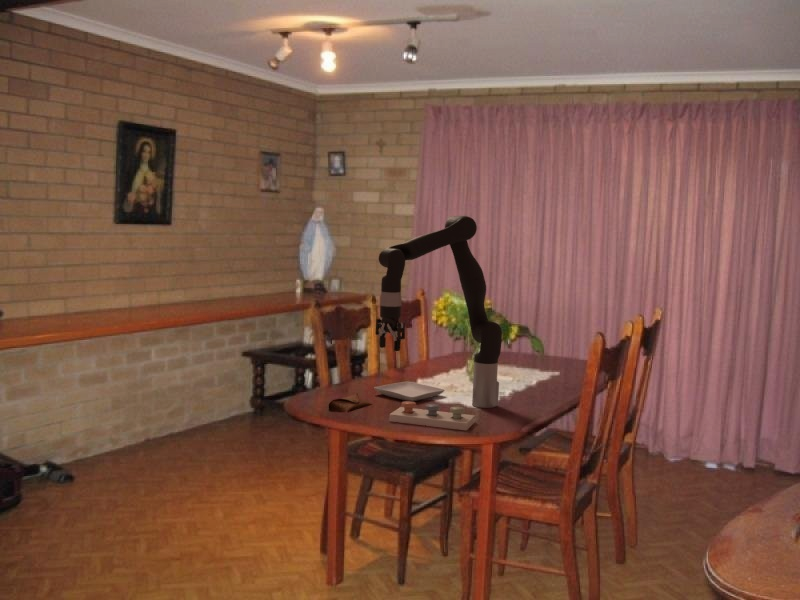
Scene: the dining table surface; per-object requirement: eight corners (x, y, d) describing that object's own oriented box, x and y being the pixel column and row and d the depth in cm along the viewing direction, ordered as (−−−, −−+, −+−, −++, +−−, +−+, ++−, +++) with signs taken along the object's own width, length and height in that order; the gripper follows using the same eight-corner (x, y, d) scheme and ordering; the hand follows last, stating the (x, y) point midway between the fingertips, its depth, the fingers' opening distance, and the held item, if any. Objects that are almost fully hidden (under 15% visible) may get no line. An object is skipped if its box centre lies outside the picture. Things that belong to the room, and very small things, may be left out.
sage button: (459, 416, 279) (460, 406, 279) (467, 420, 274) (467, 409, 274) (446, 417, 277) (447, 407, 276) (454, 421, 272) (454, 410, 272)
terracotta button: (411, 411, 285) (411, 400, 284) (418, 414, 280) (418, 404, 280) (398, 412, 283) (399, 401, 282) (405, 415, 278) (405, 405, 278)
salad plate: (445, 396, 320) (446, 388, 320) (411, 405, 304) (412, 396, 304) (407, 388, 334) (407, 380, 334) (372, 395, 318) (372, 387, 318)
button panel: (474, 422, 280) (474, 415, 280) (466, 430, 269) (466, 423, 268) (400, 413, 289) (400, 406, 289) (389, 421, 278) (389, 414, 277)
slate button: (435, 413, 282) (435, 403, 282) (442, 417, 277) (442, 406, 277) (422, 415, 280) (422, 404, 279) (429, 418, 275) (429, 407, 275)
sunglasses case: (346, 412, 287) (339, 396, 288) (333, 419, 291) (326, 403, 292) (373, 404, 302) (366, 388, 304) (360, 410, 306) (353, 395, 307)
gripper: (411, 306, 277) (410, 351, 279) (386, 301, 288) (385, 345, 290) (394, 307, 273) (393, 353, 274) (370, 302, 284) (369, 347, 285)
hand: (389, 349), depth 282 cm, fingers open, 8 cm apart
